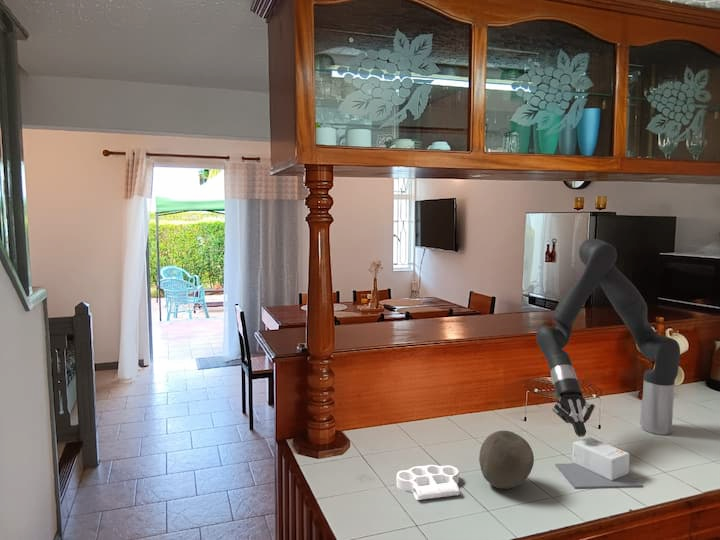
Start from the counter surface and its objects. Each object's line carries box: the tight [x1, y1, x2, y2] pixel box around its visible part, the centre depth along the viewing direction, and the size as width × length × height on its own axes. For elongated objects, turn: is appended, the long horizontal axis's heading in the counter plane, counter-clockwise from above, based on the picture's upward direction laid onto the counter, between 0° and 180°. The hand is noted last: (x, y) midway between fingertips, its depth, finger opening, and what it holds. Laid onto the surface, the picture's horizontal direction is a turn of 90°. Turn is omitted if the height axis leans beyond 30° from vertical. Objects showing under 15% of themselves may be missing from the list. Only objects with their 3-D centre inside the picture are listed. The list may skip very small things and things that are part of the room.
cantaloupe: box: [478, 430, 535, 490], centre depth 140 cm, size 14×14×15 cm
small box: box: [571, 436, 630, 481], centre depth 149 cm, size 8×6×13 cm
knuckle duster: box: [396, 464, 460, 501], centre depth 141 cm, size 3×18×15 cm
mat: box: [554, 462, 644, 489], centre depth 145 cm, size 13×19×1 cm
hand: (581, 435), depth 150 cm, fingers closed
